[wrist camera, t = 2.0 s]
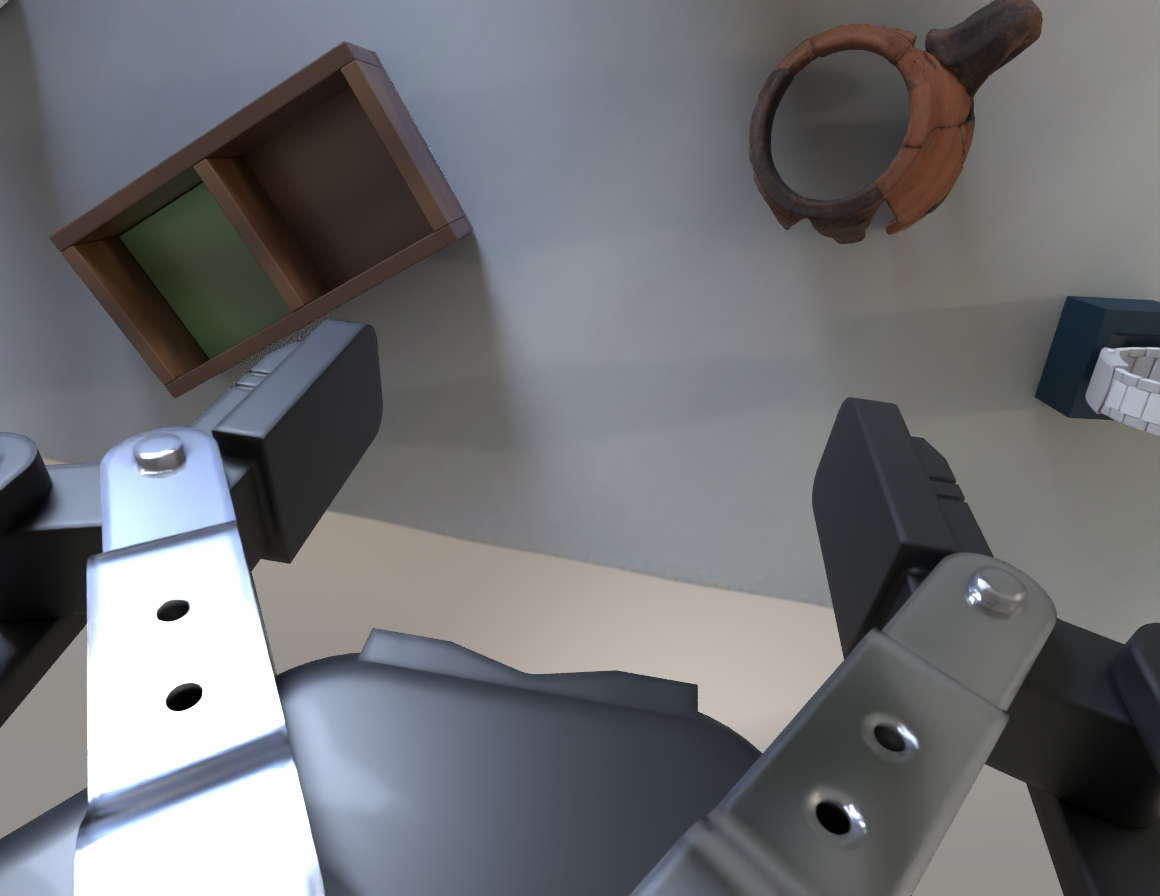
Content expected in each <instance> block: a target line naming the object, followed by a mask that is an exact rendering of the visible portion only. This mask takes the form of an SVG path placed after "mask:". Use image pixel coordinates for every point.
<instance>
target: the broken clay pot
mask: <svg viewBox="0 0 1160 896" xmlns="http://www.w3.org/2000/svg"><path fill="white" fill-rule="evenodd" d="M1042 20H1043V19H1042V12H1041V11H1040V9H1039V8H1038V7H1037V6H1036V5H1035V4H1034V3H1033V2H1032V1H1031V0H994V1H993V2H991V3H990V4H988V5H986V6H985V7H983V8H981V9H980V10H978V11H976V12H975V13H974V14H972V15H971V16H970V17H968V18H967V19H966V20H964V21H963V22H961V23H960V24H958V25H956V26H954V27H952V28H949V29H944V30H937V29H932V30H930V31H929V32H928V33H927V35H926V40H925V48H926V51H923V52H922V51H920V50H918V49H916V48H914V43H915V41H916V38H917V36H916V35H915V34H913V33H911V32H909V31H904V30H901V29H896V28H889V27H884V26H878V25H877V26H874V25H868V24H851V25H840V26H837V27H834V28H832V29H829V30H827V31H824V32H822V33H819V34H817V35H815V36H813V37H812V38H811V39H807V40H805V41H804V42H802V43H801V44H800V45H799V46H798V47H796V48H795V49H794V50H793V51H792V52H791V53H790V54H789V55H788V56H787V57H786V58H785V59H784V60H783V61H782V63H781V64H780V65H779V66H778V67H777V69H776V70H774V71H772V72H771V74H770V75H769V77H768V78H767V80H766V82H765V84H764V86H763V88H762V90H761V92H760V94H759V97H758V100H757V103H756V105H755V108H754V111H753V114H752V118H751V124H750V134H749V143H750V145H749V156H750V162H751V164H752V166H753V170H754V174H753V175H754V181H755V183H756V185H757V188H758V190H759V192H760V193H761V195H762V196H763V198H764V200H765V201H766V202H767V204H768V205H769V207H770V209H771V210H772V212H773V214H774V215H775V217H776V218H777V220H778V222H779V223H780V224H781V225H782V226H783V227H784V228H785V229H786V230H788V229H790V227H791V226H792V225H795V224H796V223H797V222H798V221H800V220H802V219H805V218H807V219H809V220H810V221H811V223H812V225H813V227H814V229H816V230H817V231H818V232H819V233H820V234H822V235H824V236H827V237H832V238H833V239H834V240H835V241H836V242H838V243H839V244H847V243H855V242H860V241H862V240H863V239H864V238H865V229H866V228H867V227H868V225H869V224H870V222H871V220H872V217H873V215H874V214H875V212H876V211H877V209H878V207H879V206H880V205H881V203H882V202H883V201H884V200H885V201H886V202H887V204H888V206H889V208H890V209H891V210H892V212H893V213H894V215H895V219H893V220H891V221H890V222H889V225H887V227H886V232H887V233H888V234H889V235H891V234H894V233H897V232H900V231H902V230H905V229H907V228H908V227H910V226H911V225H913V224H914V223H916V222H917V221H919V220H920V219H922V218H924V217H925V216H926V215H927V214H928V213H931V212H932V211H934V210H935V209H936V208H937V207H938V206H939V205H940V204H941V203H942V202H943V201H944V200H945V198H946V197H947V195H948V194H949V192H950V191H951V189H952V187H953V186H954V184H955V182H956V180H957V178H958V176H959V174H960V172H961V171H962V169H963V164H964V162H965V159H966V157H967V154H968V151H969V148H970V145H971V140H972V136H973V131H974V122H975V117H974V110H973V109H974V102H973V97H974V95H975V94H976V92H977V91H978V89H979V88H980V86H981V85H982V84H983V83H984V82H985V80H986V79H987V78H988V77H989V76H990V75H991V74H992V73H994V72H995V71H996V70H998V69H999V68H1001V67H1002V66H1004V65H1005V64H1007V63H1008V62H1010V61H1011V60H1012V59H1014V58H1015V57H1016V56H1017V55H1019V54H1020V53H1021V52H1023V51H1024V50H1025V49H1026V48H1027V47H1029V46H1030V45H1031V44H1032V43H1034V42H1035V41H1036V40H1037V39H1038V38H1039V37H1040V34H1041V26H1042ZM844 50H866V51H870V52H873V53H876V54H878V55H880V56H882V57H884V58H886V59H887V60H888V61H889V62H890V63H891V64H893V65H894V66H896V67H897V69H898V70H899V72H900V73H901V75H902V77H903V79H904V81H905V83H906V86H907V90H908V93H909V99H910V118H909V125H908V129H907V133H906V136H905V139H904V141H903V144H902V146H901V148H900V150H899V151H898V153H897V155H896V157H895V158H894V160H893V161H892V163H891V164H890V166H889V167H888V168H887V169H886V170H885V171H884V172H883V173H882V175H881V176H879V177H878V178H877V179H876V180H875V181H874V182H873V183H872V185H870V186H869V187H867V188H865V189H864V190H862V191H860V192H858V193H856V194H854V195H851V196H849V197H846V198H842V199H838V200H828V201H821V200H813V199H808V198H804V197H802V196H800V195H798V194H797V193H795V192H794V191H793V190H792V189H790V188H789V187H788V186H787V185H786V184H785V183H784V182H783V180H782V179H781V177H780V176H779V174H778V172H777V170H776V168H775V165H774V162H773V159H772V154H771V130H772V124H773V119H774V116H775V113H776V110H777V108H778V106H779V103H780V101H781V99H782V97H783V95H784V94H785V91H786V90H787V88H788V87H789V85H790V84H791V82H792V81H793V79H794V76H795V75H796V74H797V73H798V72H799V71H800V70H802V69H803V68H804V67H805V66H806V65H807V64H809V63H810V62H811V61H813V60H815V59H816V58H818V57H825V56H828V55H830V54H832V53H836V52H839V51H844Z"/></svg>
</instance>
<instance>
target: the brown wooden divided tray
mask: <svg viewBox="0 0 1160 896" xmlns="http://www.w3.org/2000/svg"><path fill="white" fill-rule="evenodd" d="M471 231H473V228H472V226H471V224H470V222H469V220H468V219H467V217H466V215H465V213H464V211H463V210H462V208H461V206H460V204H459V202H458V201H457V199H456V197H455V195H454V193H453V192H452V190H451V188H450V186H449V184H448V183H447V181H446V179H445V177H444V175H443V174H442V172H441V170H440V168H439V166H438V165H437V163H436V161H435V159H434V157H433V156H432V154H431V152H430V150H429V148H428V147H427V145H426V143H425V141H424V139H423V138H422V136H421V134H420V132H419V130H418V129H417V127H416V125H415V123H414V121H413V120H412V118H411V116H410V114H409V112H408V111H407V109H406V107H405V105H404V103H403V102H402V100H401V98H400V96H399V94H398V93H397V91H396V89H395V87H394V85H393V84H392V82H391V80H390V78H389V76H388V75H387V73H386V71H385V69H384V67H383V66H382V64H381V62H380V60H379V58H378V57H377V55H376V53H375V52H373V51H370V50H367V49H365V48H362V47H359V46H356V45H354V44H351V43H348V42H346V41H343V42H341V43H340V44H338V45H337V46H335V47H334V48H332V49H331V50H329V51H328V52H326V53H325V54H323V55H322V56H320V57H319V58H317V59H316V60H314V61H313V62H311V63H310V64H308V65H307V66H305V67H304V68H302V69H301V70H299V71H298V72H296V73H295V74H293V75H292V76H290V77H289V78H287V79H286V80H284V81H283V82H281V83H280V84H278V85H277V86H275V87H274V88H272V89H271V90H269V91H268V92H266V93H265V94H263V95H262V96H260V97H259V98H257V99H256V100H254V101H253V102H251V103H250V104H248V105H247V106H245V107H244V108H242V109H241V110H239V111H238V112H236V113H235V114H233V115H232V116H230V117H229V118H227V119H226V120H224V121H223V122H221V123H220V124H218V125H217V126H215V127H214V128H212V129H211V130H209V131H208V132H206V133H205V134H203V135H202V136H200V137H199V138H197V139H196V140H194V141H193V142H191V143H190V144H188V145H187V146H185V147H184V148H182V149H181V150H179V151H178V152H176V153H175V154H173V155H172V156H170V157H169V158H167V159H166V160H164V161H163V162H161V163H160V164H158V165H157V166H155V167H154V168H152V169H151V170H149V171H148V172H146V173H145V174H143V175H142V176H140V177H139V178H137V179H136V180H134V181H133V182H131V183H130V184H128V185H127V186H125V187H124V188H122V189H121V190H119V191H118V192H116V193H115V194H113V195H112V196H110V197H109V198H107V199H106V200H104V201H103V202H101V203H100V204H98V205H97V206H95V207H94V208H92V209H91V210H89V211H88V212H86V213H85V214H83V215H82V216H80V217H79V218H77V219H76V220H74V221H73V222H71V223H70V224H68V225H67V226H65V227H64V228H62V229H61V230H59V231H58V232H56V233H55V234H53V235H52V236H50V240H51V241H52V242H53V243H54V245H55V246H56V247H57V249H58V250H59V251H60V252H62V255H63V256H64V258H65V259H66V260H67V261H68V263H69V264H70V265H71V267H72V268H73V269H74V270H75V272H76V273H77V274H78V276H79V277H80V278H81V279H82V281H83V282H84V283H85V285H86V286H87V287H88V288H89V290H90V291H91V292H92V293H93V295H94V296H95V297H96V299H97V300H98V301H99V302H100V304H101V305H102V306H103V308H104V309H105V310H106V311H107V313H108V314H109V315H110V317H111V318H112V319H113V320H114V322H115V323H116V324H117V326H118V327H119V328H120V329H121V331H122V332H123V333H124V334H125V336H126V337H127V338H128V340H129V341H130V342H131V343H132V345H133V346H134V347H135V349H136V350H137V351H138V352H139V354H140V355H141V356H142V358H143V359H144V360H145V361H146V363H147V364H148V365H149V366H150V368H151V369H152V370H153V372H154V373H155V374H156V375H157V377H158V378H159V379H160V381H161V382H162V383H163V384H164V385H165V387H166V388H167V390H168V391H169V392H170V393H171V395H172V396H173V397H174V398H177V397H179V396H180V395H182V394H184V393H186V392H188V391H189V390H191V389H193V388H195V387H197V386H198V385H200V384H202V383H204V382H205V381H207V380H209V379H211V378H213V377H214V376H216V375H218V374H220V373H221V372H223V371H225V370H227V369H229V368H230V367H232V366H234V365H236V364H237V363H239V362H241V361H243V360H245V359H246V358H248V357H250V356H252V355H254V354H255V353H257V352H259V351H261V350H262V349H264V348H266V347H268V346H270V345H271V344H273V343H275V342H277V341H278V340H280V339H282V338H284V337H286V336H287V335H289V334H291V333H293V332H294V331H296V330H298V329H300V328H302V327H303V326H305V325H307V324H309V323H311V322H312V321H314V320H316V319H318V318H319V317H321V316H323V315H325V314H327V313H328V312H330V311H332V310H334V309H335V308H337V307H339V306H341V305H343V304H344V303H346V302H348V301H350V300H351V299H353V298H355V297H357V296H359V295H360V294H362V293H364V292H366V291H368V290H369V289H371V288H373V287H375V286H376V285H378V284H380V283H382V282H384V281H385V280H387V279H389V278H391V277H392V276H394V275H396V274H398V273H400V272H401V271H403V270H405V269H407V268H408V267H410V266H412V265H414V264H416V263H417V262H419V261H421V260H423V259H425V258H426V257H428V256H430V255H432V254H433V253H435V252H437V251H439V250H441V249H442V248H444V247H446V246H448V245H449V244H451V243H453V242H455V241H457V240H458V239H460V238H461V237H463V236H465V235H466V234H468V233H470V232H471Z"/></svg>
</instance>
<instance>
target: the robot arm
mask: <svg viewBox="0 0 1160 896" xmlns="http://www.w3.org/2000/svg"><path fill="white" fill-rule="evenodd" d="M382 411H383V400H382V389H381V378H380V367H379V355H378V344H377V336H376V332H375V330H374V328H373V327H372V326H371V325H368V324H361V323H354V322H347V321H341V320H334V319H326V320H324V321H323V322H322V323H321V324H320V325H319V326H318V327H317V328H316V329H315V330H314V331H313V332H311V333H310V334H309V335H308V336H307V337H306V338H305V339H304V340H303V341H302V342H301V343H297V342H293V343H290V344H288V345H286V346H284V347H282V348H279V349H277V350H275V351H273V352H271V353H269V354H267V355H266V356H264V357H263V358H262V359H261V360H260V361H259V362H258V363H257V364H256V365H255V366H254V367H253V368H251V369H250V373H249V374H247V373H246V374H245V375H244V376H243V377H242V378H241V379H240V380H238V381H237V382H236V383H235V387H231V388H230V389H229V390H228V391H227V392H225V393H224V394H223V395H222V396H221V397H220V398H219V399H218V400H217V401H216V402H215V403H213V404H212V405H211V406H210V407H209V408H208V409H207V410H206V411H205V412H204V413H203V414H202V415H200V416H199V417H198V418H197V419H196V420H195V421H194V422H193V423H192V424H191V425H190V426H189V427H165V428H158V429H153V430H149V431H145V432H142V433H139V434H136V435H134V436H131V437H129V438H127V439H125V440H123V441H121V442H120V443H118V444H117V445H115V446H114V447H113V448H112V449H110V450H109V451H108V452H107V453H106V455H105V456H104V457H103V459H102V461H101V463H81V464H61V465H45V464H44V462H43V460H42V458H41V455H40V453H39V451H38V449H37V446H36V444H35V443H34V442H33V441H32V440H31V439H29V438H28V437H26V436H23V435H20V434H15V433H5V432H0V727H1V726H2V725H3V724H4V723H5V721H6V720H7V719H8V718H9V717H10V716H11V714H12V713H13V712H14V711H15V709H16V708H17V707H18V706H19V705H20V703H21V702H22V701H23V700H24V699H25V697H26V696H27V695H28V694H29V693H30V691H31V690H32V689H33V688H34V687H35V685H36V684H37V683H38V682H39V681H40V679H41V678H42V677H43V676H44V675H45V673H46V672H47V671H48V669H50V667H51V666H52V665H53V664H54V663H55V661H56V660H57V659H58V658H59V656H60V655H61V654H62V653H63V652H64V650H65V649H66V648H67V647H68V646H69V645H70V643H71V642H72V641H73V640H74V638H75V637H76V636H77V635H78V634H79V633H80V631H81V630H82V629H83V628H84V626H85V625H86V624H87V665H88V666H87V668H88V669H87V672H88V673H87V674H88V675H87V679H88V787H87V788H85V789H84V790H82V791H80V792H79V793H77V794H75V795H74V796H72V797H70V798H69V799H67V800H65V801H64V802H62V803H60V804H59V805H57V806H55V807H54V808H52V809H50V810H48V811H47V812H45V813H43V814H42V815H40V816H38V817H37V818H35V819H33V820H32V821H30V822H28V823H27V824H25V825H23V826H22V827H20V828H18V829H17V830H15V831H13V832H12V833H10V834H8V835H7V836H5V837H3V838H1V839H0V896H912V894H913V892H914V890H915V888H916V887H917V885H918V883H919V881H920V879H921V878H922V876H923V874H924V872H925V870H926V868H927V867H928V865H929V863H930V861H931V860H932V858H933V856H934V854H935V852H936V851H937V849H938V847H939V845H940V843H941V842H942V839H943V838H944V836H945V834H946V832H947V831H948V829H949V827H950V825H951V824H952V822H953V820H954V818H955V816H956V814H957V813H958V811H959V809H960V807H961V805H962V804H963V802H964V800H965V798H966V796H967V795H968V793H969V791H970V789H971V787H972V785H973V784H974V782H975V780H976V778H977V777H978V775H979V773H980V771H981V769H982V768H983V766H984V764H986V765H988V766H990V767H993V768H995V769H997V770H999V771H1001V772H1004V773H1006V774H1008V775H1010V776H1012V777H1014V778H1017V779H1019V780H1021V781H1023V782H1026V784H1027V787H1028V790H1029V793H1030V796H1031V799H1032V802H1033V805H1034V808H1035V811H1036V814H1037V817H1038V820H1039V823H1040V826H1041V829H1042V832H1043V834H1044V838H1045V841H1046V844H1047V846H1048V850H1049V853H1050V856H1051V859H1052V861H1053V865H1054V868H1055V870H1056V874H1057V877H1058V880H1059V883H1060V886H1061V888H1062V891H1063V894H1064V896H1160V623H1151V624H1146V625H1144V626H1142V627H1140V628H1139V629H1138V630H1137V631H1136V632H1135V633H1134V634H1133V635H1132V636H1131V638H1130V639H1129V640H1128V641H1127V642H1126V644H1125V645H1124V644H1122V643H1119V642H1117V641H1114V640H1111V639H1109V638H1106V637H1103V636H1101V635H1098V634H1096V633H1093V632H1090V631H1088V630H1085V629H1082V628H1080V627H1077V626H1075V625H1072V624H1069V623H1067V622H1065V621H1062V620H1060V619H1058V618H1057V613H1056V609H1055V606H1054V604H1053V602H1052V600H1051V598H1050V597H1049V596H1048V594H1047V593H1046V591H1045V590H1044V589H1043V588H1042V587H1041V586H1040V585H1039V584H1038V583H1037V582H1036V581H1034V580H1033V579H1032V578H1031V577H1029V576H1028V575H1027V574H1025V573H1024V572H1022V571H1021V570H1019V569H1017V568H1016V567H1014V566H1012V565H1010V564H1008V563H1006V562H1004V561H1001V560H999V559H996V558H994V557H993V554H992V552H991V550H990V548H989V546H988V544H987V542H986V540H985V538H984V536H983V534H982V532H981V530H980V528H979V526H978V524H977V522H976V520H975V518H974V516H973V514H972V512H971V510H970V508H969V506H968V504H967V503H965V502H964V499H965V498H964V495H963V493H962V491H961V489H960V487H959V485H956V484H955V483H956V479H955V477H954V475H953V473H952V471H951V469H950V467H949V465H948V463H947V461H946V459H945V458H944V457H943V456H942V455H941V454H940V453H939V452H938V451H937V450H935V449H934V448H933V447H932V446H931V445H930V444H929V443H928V442H927V441H926V440H925V439H924V438H919V437H912V436H910V433H909V431H908V429H907V427H906V424H905V422H904V420H903V418H902V415H901V413H900V411H899V409H898V407H897V405H895V404H893V403H886V402H879V401H872V400H866V399H859V398H852V397H848V398H846V399H845V400H844V402H843V403H842V405H841V407H840V409H839V412H838V415H837V417H836V420H835V423H834V426H833V428H832V431H831V434H830V436H829V439H828V442H827V445H826V447H825V450H824V453H823V455H822V458H821V461H820V464H819V466H818V469H817V472H816V475H815V479H814V485H813V492H812V506H813V511H814V516H815V521H816V526H817V531H818V536H819V540H820V545H821V550H822V555H823V560H824V565H825V569H826V574H827V579H828V584H829V589H830V593H831V598H832V603H833V608H834V613H835V618H836V622H837V627H838V632H839V637H840V642H841V646H842V651H843V656H844V661H843V662H842V663H841V664H840V666H839V667H838V668H837V669H836V670H835V671H834V672H833V674H832V675H831V676H830V677H829V678H828V679H827V680H826V681H825V683H824V684H823V685H822V686H821V687H820V688H819V690H818V691H817V692H816V693H815V694H814V695H813V697H812V698H811V699H810V700H809V701H808V702H807V703H806V705H805V706H804V707H803V708H802V709H801V710H800V712H799V713H798V714H797V715H796V716H795V717H794V718H793V720H792V721H791V722H790V723H789V724H788V725H787V726H786V728H785V729H784V730H783V731H782V732H781V733H780V735H779V736H778V737H777V738H776V739H775V740H774V741H773V742H772V744H771V745H770V746H769V747H768V748H767V749H766V751H765V752H764V753H761V752H760V751H759V750H758V749H757V748H756V747H754V746H753V745H752V744H751V743H750V742H749V741H747V740H746V739H745V738H743V737H742V736H740V735H739V734H738V733H736V732H735V731H733V730H732V729H730V728H729V727H727V726H726V725H724V724H722V723H720V722H718V721H717V720H715V719H713V718H711V717H709V716H707V715H704V714H702V713H700V712H698V701H697V700H698V685H696V684H690V683H684V682H679V681H673V680H667V679H662V678H656V677H650V676H644V675H639V674H633V673H627V672H622V671H596V672H576V673H555V674H528V673H524V672H521V671H518V670H516V669H514V668H511V667H509V666H507V665H504V664H502V663H500V662H497V661H495V660H493V659H490V658H488V657H486V656H483V655H481V654H478V653H476V652H474V651H472V650H469V649H467V648H465V647H462V646H460V645H458V644H455V643H453V642H450V641H444V640H438V639H433V638H427V637H421V636H415V635H410V634H404V633H398V632H393V631H387V630H382V629H375V628H373V629H372V631H371V633H370V635H369V637H368V639H367V641H366V643H365V646H364V647H363V649H362V651H361V653H350V654H344V655H338V656H331V657H327V658H323V659H320V660H315V661H311V662H309V663H306V664H303V665H300V666H297V667H295V668H292V669H289V670H287V671H285V672H283V673H281V674H279V675H277V673H276V669H275V665H274V661H273V657H272V653H271V649H270V644H269V640H268V637H267V632H266V629H265V625H264V621H263V616H262V612H261V608H260V604H259V600H258V596H257V592H256V588H255V584H254V580H253V577H252V573H251V571H252V570H253V569H254V567H255V566H256V564H257V563H258V562H259V560H260V559H265V560H271V561H277V562H282V563H291V562H292V560H293V559H294V557H295V556H296V554H297V553H298V551H299V550H300V548H301V547H302V545H303V543H304V542H305V541H306V539H307V538H308V536H309V535H310V533H311V532H312V530H313V529H314V527H315V526H316V524H317V523H318V521H319V520H320V519H321V517H322V516H323V514H324V513H325V511H326V510H327V508H328V507H329V505H330V504H331V502H332V501H333V499H334V498H335V496H336V495H337V493H338V492H339V490H340V489H341V487H342V486H343V484H344V483H345V481H346V480H347V478H348V477H349V475H350V474H351V472H352V471H353V469H354V468H355V467H356V465H357V464H358V462H359V461H360V459H361V458H362V456H363V455H364V453H365V452H366V450H367V449H368V447H369V446H370V444H371V443H372V441H373V440H374V438H375V437H376V435H377V432H378V430H379V427H380V423H381V419H382Z"/></svg>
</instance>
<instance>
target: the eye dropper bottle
mask: <svg viewBox="0 0 1160 896" xmlns="http://www.w3.org/2000/svg"><path fill="white" fill-rule="evenodd" d="M8 1H9V0H0V8H1V7H2V6H4V5H5V4H6V3H7V2H8Z"/></svg>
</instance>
